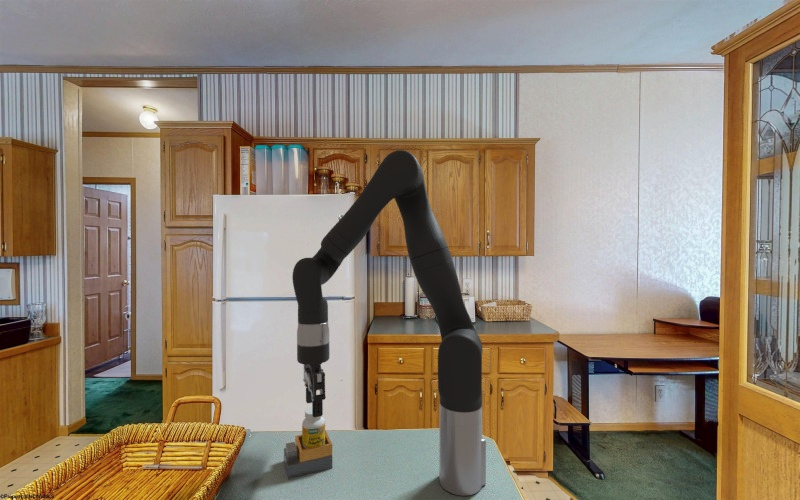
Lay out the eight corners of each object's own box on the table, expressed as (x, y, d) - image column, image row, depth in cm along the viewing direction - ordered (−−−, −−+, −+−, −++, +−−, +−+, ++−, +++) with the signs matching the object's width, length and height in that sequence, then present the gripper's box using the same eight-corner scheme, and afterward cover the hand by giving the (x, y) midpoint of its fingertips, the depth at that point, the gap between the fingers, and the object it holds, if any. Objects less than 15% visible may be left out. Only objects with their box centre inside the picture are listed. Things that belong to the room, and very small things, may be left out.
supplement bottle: (320, 442, 89) (320, 403, 89) (328, 452, 84) (328, 411, 84) (299, 448, 86) (299, 408, 86) (306, 459, 81) (306, 417, 81)
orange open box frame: (325, 451, 90) (325, 429, 90) (332, 468, 83) (332, 444, 83) (283, 460, 86) (283, 438, 86) (287, 479, 79) (287, 454, 79)
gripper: (336, 345, 80) (336, 418, 80) (322, 333, 93) (323, 395, 93) (302, 349, 77) (302, 425, 77) (293, 336, 90) (293, 400, 90)
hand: (313, 408), depth 85 cm, fingers open, 8 cm apart
